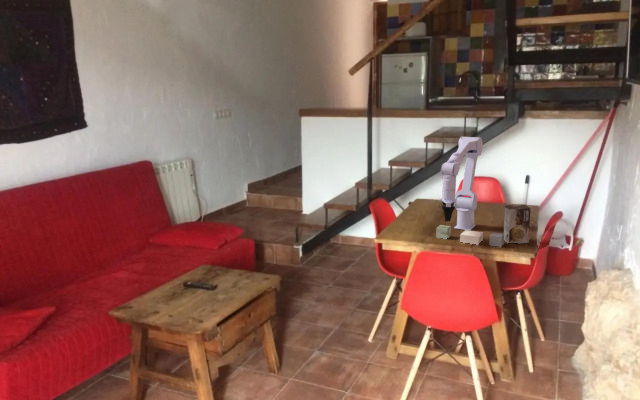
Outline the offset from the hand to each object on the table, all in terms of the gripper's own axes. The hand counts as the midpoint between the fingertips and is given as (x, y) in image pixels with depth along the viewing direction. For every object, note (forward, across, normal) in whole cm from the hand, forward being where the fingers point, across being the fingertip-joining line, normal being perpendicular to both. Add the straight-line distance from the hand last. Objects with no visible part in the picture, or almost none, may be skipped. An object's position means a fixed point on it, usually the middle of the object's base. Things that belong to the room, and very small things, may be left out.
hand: (447, 218), depth 228 cm
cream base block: (+10, +1, +11) cm, 15 cm away
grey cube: (+10, +5, +21) cm, 24 cm away
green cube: (+10, -3, -2) cm, 10 cm away
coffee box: (+10, -2, +30) cm, 31 cm away
